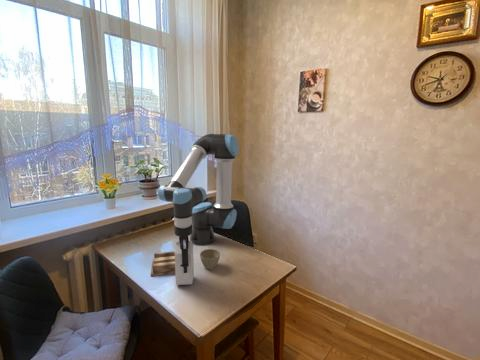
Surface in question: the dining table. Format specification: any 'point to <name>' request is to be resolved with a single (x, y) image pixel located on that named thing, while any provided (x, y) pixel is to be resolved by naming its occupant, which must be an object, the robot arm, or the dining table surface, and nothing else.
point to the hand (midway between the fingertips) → (184, 272)
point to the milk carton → (179, 262)
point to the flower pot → (210, 258)
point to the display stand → (163, 263)
